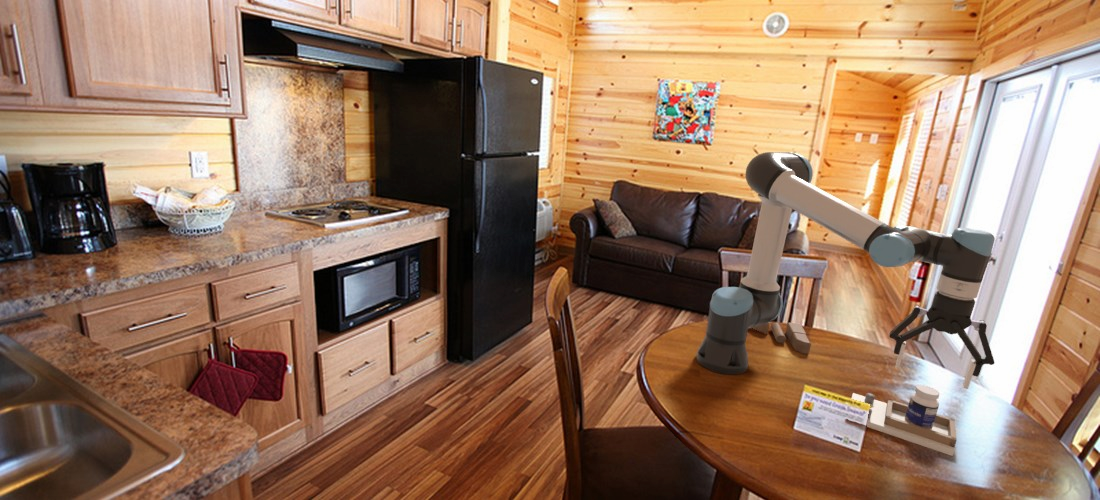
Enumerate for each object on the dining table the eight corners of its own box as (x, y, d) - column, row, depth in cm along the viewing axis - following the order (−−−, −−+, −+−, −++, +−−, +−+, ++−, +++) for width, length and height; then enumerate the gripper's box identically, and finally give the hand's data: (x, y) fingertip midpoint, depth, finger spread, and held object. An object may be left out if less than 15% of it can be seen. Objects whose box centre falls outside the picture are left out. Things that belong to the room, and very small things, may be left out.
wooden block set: (801, 320, 181) (813, 340, 164) (798, 334, 182) (809, 356, 165) (751, 313, 185) (758, 332, 168) (749, 327, 186) (755, 347, 169)
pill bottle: (898, 418, 128) (908, 383, 126) (919, 418, 129) (929, 383, 126) (916, 432, 123) (926, 395, 120) (937, 432, 123) (948, 396, 121)
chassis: (845, 419, 129) (848, 407, 128) (851, 397, 140) (854, 386, 139) (952, 456, 116) (956, 443, 116) (950, 429, 127) (954, 416, 127)
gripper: (891, 284, 121) (869, 363, 126) (1029, 314, 107) (998, 402, 113) (893, 278, 127) (872, 353, 132) (1024, 305, 113) (994, 389, 118)
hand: (930, 376), depth 122 cm, fingers open, 13 cm apart
